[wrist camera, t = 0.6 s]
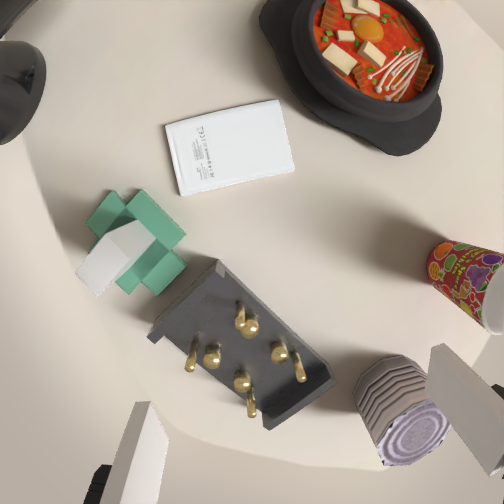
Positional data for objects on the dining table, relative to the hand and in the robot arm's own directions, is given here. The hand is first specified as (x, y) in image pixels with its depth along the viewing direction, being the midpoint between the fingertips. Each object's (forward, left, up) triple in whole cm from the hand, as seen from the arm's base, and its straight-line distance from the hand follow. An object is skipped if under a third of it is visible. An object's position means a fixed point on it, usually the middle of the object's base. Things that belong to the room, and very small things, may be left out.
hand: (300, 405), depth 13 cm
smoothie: (+17, +17, -24) cm, 34 cm away
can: (+27, 0, -24) cm, 36 cm away
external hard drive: (-12, +6, -24) cm, 28 cm away
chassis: (+6, -9, -24) cm, 26 cm away
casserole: (-10, +24, -24) cm, 35 cm away
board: (-12, -9, -24) cm, 28 cm away
